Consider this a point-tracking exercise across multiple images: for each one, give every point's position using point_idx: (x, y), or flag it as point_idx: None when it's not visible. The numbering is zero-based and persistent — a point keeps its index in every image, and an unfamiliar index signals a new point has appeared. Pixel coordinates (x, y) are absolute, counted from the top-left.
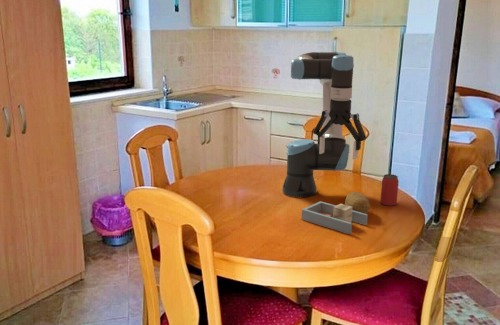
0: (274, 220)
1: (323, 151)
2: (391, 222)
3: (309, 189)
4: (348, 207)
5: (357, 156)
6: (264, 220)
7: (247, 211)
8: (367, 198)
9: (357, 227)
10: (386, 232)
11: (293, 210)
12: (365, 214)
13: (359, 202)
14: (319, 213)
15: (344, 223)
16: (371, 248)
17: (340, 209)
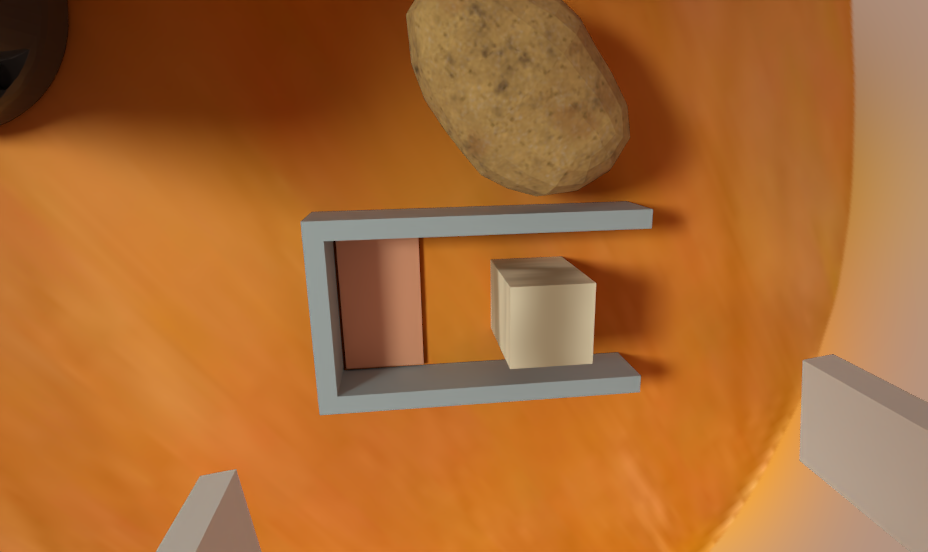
0: None
1: (238, 512)
2: (719, 78)
3: (23, 22)
4: (583, 311)
5: (852, 372)
6: None
7: (34, 508)
8: (589, 45)
9: (606, 270)
10: (744, 223)
11: (198, 320)
12: (643, 219)
13: (591, 176)
14: (434, 391)
15: (604, 391)
16: (751, 414)
17: (559, 364)
